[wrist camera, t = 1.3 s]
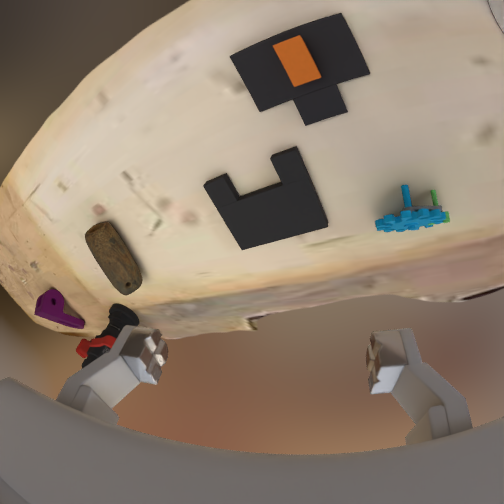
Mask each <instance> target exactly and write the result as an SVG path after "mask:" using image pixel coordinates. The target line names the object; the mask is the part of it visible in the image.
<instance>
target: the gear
mask: <svg viewBox="0 0 504 504" xmlns="http://www.w3.org/2000/svg"><path fill="white" fill-rule="evenodd" d="M401 189H402V194H403V200H404V205H405V208H403V211H401V212H400V216H398V217H394V214H390V215H385V216H384V219H378V220H376V221H375V225H376V227H377V231H380V230H384V232H391V231H394V230H396V232H403V231H405V230H407V229H408V230H418V229H419V227H421V226H425V228H427V227H432V226H433V224H440V223H447V222H450V218H449V213H448V212H442V206H438V201H437V196H436V191H435V190H431V196H432V201H433V206H412V204H411V198H410V193H409V188H408V185H402V186H401Z"/></svg>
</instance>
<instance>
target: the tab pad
mask: <svg viewBox="0 0 504 504" xmlns="http://www.w3.org/2000/svg"><path fill="white" fill-rule="evenodd" d="M230 58H231V60H232V62H233V63H234V65H235V67H236V69H237V71H238V72H239V74H240V76H241V78H242V80H243V81H244V83H245V85H246V87H247V89H248V91H249V92H250V94H251V96H252V98H253V100H254V102H255V104H256V106H257V108H258V110H259V111H260V112H262V111H264V110H267V109H269V108H271V107H274V106H276V105H279V104H281V103H284V102H286V101H289V100H292V99H293V100H294V102H295V105H296V107H297V109H298V111H299V113H300V115H301V117H302V120H303V122H304V124H305V126H306V125H309V124H312V123H315V122H318V121H321V120H324V119H327V118H330V117H333V116H336V115H339V114H343V113H346V112H348V111H347V109H346V106H345V104H344V101H343V99H342V97H341V94H340V92H339V90H338V87H337V85H336V84H338V83H341V82H344V81H348V80H351V79H354V78H358V77H361V76H365V75H369V74H370V72H369V70H368V67H367V65H366V62H365V60H364V58H363V56H362V53H361V51H360V49H359V47H358V45H357V43H356V41H355V39H354V37H353V35H352V33H351V31H350V29H349V27H348V25H347V23H346V21H345V19H344V17H343V15H342V13H339V14H335V15H332V16H329V17H325V18H322V19H319V20H316V21H313V22H310V23H307V24H304V25H301V26H298V27H296V28H293V29H290V30H288V31H285V32H282V33H280V34H277V35H275V36H273V37H270V38H268V39H265V40H263V41H261V42H259V43H256V44H254V45H252V46H250V47H248V48H246V49H243V50H241V51H239V52H237V53H235V54H233V55H231V56H230Z"/></svg>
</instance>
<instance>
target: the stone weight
mask: <svg viewBox="0 0 504 504" xmlns="http://www.w3.org/2000/svg"><path fill="white" fill-rule="evenodd" d="M85 240H86V243H87V245H88V247H89V249H90V251H91V252H92V254H93V256H94V258H95V259H96V261H97V262H98V264H99V266H100V267H101V269H102V270H103V272H104V273H105V275H106V276H107V278H108V279H109V280H110V282H111V283H112V285H113V286H114V287H115V288H116V289H117V290H118V291H119V292H120V293H121V294H123V295H129V294H131V293H132V292H134V291H135V290H137V289H138V288H139V287H140V286H141V284H142V276H141V273H140V271H139V269H138V267H137V265H136V263H135V261H134V260H133V258H132V256H131V254H130V253H129V251H128V249H127V248H126V246H125V244H124V243H123V241H122V239H121V238H120V237H119V235H118V234H117V232H116V231H115V229H114V228H113V227H112V226H111V225H110V224H109V223H108V222H105V223H99V224H96V225H94V226H93V227H91V228H90V229H89V230H88V231H87V232H86V234H85Z"/></svg>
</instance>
